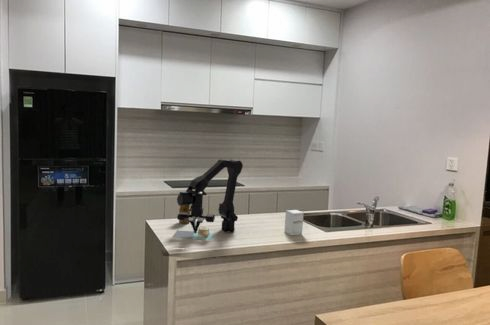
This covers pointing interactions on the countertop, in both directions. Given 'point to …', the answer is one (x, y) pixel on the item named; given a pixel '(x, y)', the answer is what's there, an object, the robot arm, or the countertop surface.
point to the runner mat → (190, 235)
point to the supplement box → (293, 222)
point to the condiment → (184, 209)
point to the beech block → (203, 232)
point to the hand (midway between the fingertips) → (195, 233)
